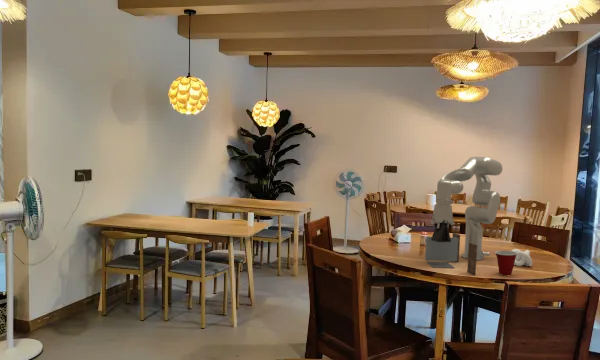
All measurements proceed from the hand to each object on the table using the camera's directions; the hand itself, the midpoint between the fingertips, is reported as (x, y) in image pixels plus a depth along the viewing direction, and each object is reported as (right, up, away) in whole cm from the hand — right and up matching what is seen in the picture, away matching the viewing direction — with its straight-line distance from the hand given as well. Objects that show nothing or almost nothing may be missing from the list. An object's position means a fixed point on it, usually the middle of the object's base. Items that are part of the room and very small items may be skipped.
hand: (441, 234), depth 246 cm
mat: (0, -17, +1) cm, 17 cm away
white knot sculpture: (+49, -19, +8) cm, 53 cm away
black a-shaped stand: (0, -4, 0) cm, 4 cm away
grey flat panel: (+2, -16, +8) cm, 18 cm away
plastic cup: (+29, -19, -14) cm, 37 cm away
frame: (+11, -18, -1) cm, 21 cm away
